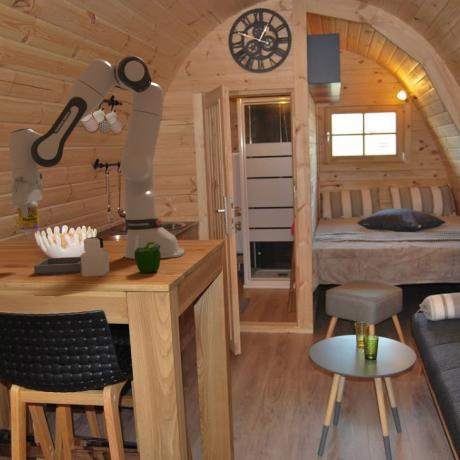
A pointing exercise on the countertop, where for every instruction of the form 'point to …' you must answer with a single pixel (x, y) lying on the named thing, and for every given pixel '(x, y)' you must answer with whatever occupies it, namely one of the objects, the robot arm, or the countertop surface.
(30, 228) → the supplement bottle
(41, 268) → the tray
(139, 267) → the bell pepper
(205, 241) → the countertop surface
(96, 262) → the medicine bottle
